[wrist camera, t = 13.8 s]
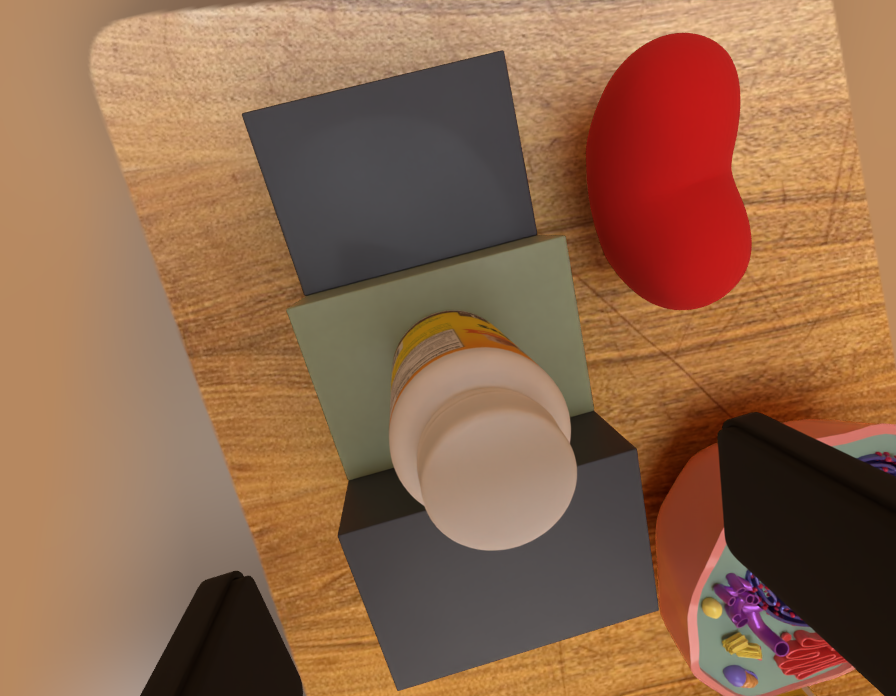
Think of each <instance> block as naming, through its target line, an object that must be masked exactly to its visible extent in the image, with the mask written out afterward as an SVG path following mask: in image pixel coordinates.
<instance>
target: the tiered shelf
mask: <svg viewBox="0 0 896 696" xmlns="http://www.w3.org/2000/svg"><path fill="white" fill-rule="evenodd" d="M242 117H243V120H244V122H245V125H246V128H247V131H248V134H249V137H250V140H251V143H252V146H253V148H254V151H255V154H256V157H257V160H258V163H259V166H260V169H261V171H262V174H263V177H264V180H265V183H266V186H267V189H268V192H269V195H270V197H271V200H272V203H273V206H274V209H275V212H276V215H277V218H278V220H279V223H280V226H281V229H282V232H283V235H284V238H285V241H286V244H287V246H288V249H289V252H290V255H291V258H292V261H293V264H294V267H295V270H296V272H297V275H298V278H299V281H300V284H301V287H302V290H303V293H304V295H305V297H304V298H302V299H301V300H299V301H298V302H296V303H295V304H293V305H292V306H290V307H289V308H287V313H288V316H289V319H290V322H291V324H292V327H293V330H294V333H295V335H296V338H297V341H298V344H299V346H300V349H301V352H302V355H303V357H304V360H305V363H306V366H307V368H308V371H309V374H310V377H311V380H312V382H313V385H314V388H315V391H316V393H317V396H318V399H319V402H320V404H321V407H322V410H323V413H324V415H325V418H326V421H327V424H328V426H329V429H330V432H331V435H332V437H333V440H334V443H335V446H336V448H337V451H338V454H339V457H340V459H341V462H342V465H343V468H344V471H345V473H346V476H347V479H348V480H349V482H348V487H347V492H346V497H345V502H344V507H343V512H342V517H341V522H340V527H339V532H338V538H339V541H340V543H341V546H342V549H343V551H344V554H345V556H346V559H347V562H348V564H349V567H350V569H351V572H352V574H353V577H354V580H355V582H356V585H357V587H358V590H359V593H360V595H361V598H362V600H363V603H364V605H365V608H366V611H367V613H368V616H369V618H370V621H371V624H372V626H373V629H374V631H375V634H376V636H377V639H378V642H379V644H380V647H381V649H382V652H383V654H384V657H385V660H386V662H387V665H388V667H389V670H390V673H391V675H392V678H393V680H394V683H395V685H396V688H397V691H400V690H403V689H406V688H410V687H413V686H416V685H419V684H423V683H426V682H429V681H432V680H436V679H439V678H442V677H445V676H448V675H452V674H455V673H458V672H461V671H465V670H468V669H471V668H474V667H477V666H481V665H484V664H487V663H490V662H494V661H497V660H500V659H503V658H507V657H510V656H513V655H516V654H519V653H523V652H526V651H529V650H532V649H536V648H539V647H542V646H545V645H548V644H552V643H555V642H558V641H561V640H565V639H568V638H571V637H574V636H578V635H581V634H584V633H587V632H590V631H594V630H597V629H600V628H603V627H607V626H610V625H613V624H616V623H619V622H623V621H626V620H629V619H632V618H636V617H639V616H642V615H645V614H649V613H652V612H655V611H658V610H659V607H658V599H657V592H656V585H655V578H654V570H653V563H652V556H651V549H650V541H649V534H648V527H647V519H646V512H645V505H644V498H643V490H642V483H641V476H640V468H639V461H638V454H637V449H636V448H635V447H634V446H633V445H632V444H631V443H629V442H628V441H627V440H626V439H625V438H624V437H623V436H622V435H621V434H619V433H618V432H617V431H616V430H615V429H614V428H613V427H612V426H610V425H609V424H608V423H607V422H606V421H605V420H604V419H603V418H601V417H600V416H599V415H598V414H597V413H596V412H595V411H594V406H593V400H592V394H591V387H590V381H589V375H588V369H587V363H586V357H585V351H584V345H583V339H582V333H581V327H580V321H579V315H578V308H577V302H576V296H575V290H574V284H573V278H572V272H571V266H570V260H569V254H568V248H567V242H566V236H565V235H537V229H536V224H535V218H534V213H533V207H532V202H531V197H530V191H529V186H528V180H527V175H526V169H525V164H524V158H523V153H522V147H521V142H520V136H519V131H518V125H517V120H516V114H515V109H514V103H513V98H512V92H511V87H510V81H509V76H508V71H507V65H506V60H505V54H504V51H503V50H502V51H498V52H493V53H489V54H485V55H481V56H477V57H473V58H469V59H465V60H460V61H456V62H452V63H448V64H444V65H440V66H436V67H431V68H427V69H423V70H419V71H415V72H411V73H407V74H402V75H398V76H394V77H390V78H386V79H382V80H378V81H374V82H369V83H365V84H361V85H357V86H353V87H349V88H345V89H340V90H336V91H332V92H328V93H324V94H320V95H316V96H311V97H307V98H303V99H299V100H295V101H291V102H287V103H282V104H278V105H274V106H270V107H266V108H262V109H258V110H254V111H249V112H245V113H242ZM450 310H457V311H465V312H469V313H472V314H475V315H478V316H480V317H482V318H483V319H485V320H487V321H488V322H490V323H491V324H492V325H493V326H495V327H496V328H497V329H498V330H499V331H500V332H501V333H502V334H504V335H505V336H506V337H507V338H509V339H510V340H511V341H512V342H513V343H514V344H515V345H516V346H517V347H518V348H519V349H521V350H522V351H523V352H524V353H525V354H526V355H527V356H528V357H530V358H531V359H532V360H533V361H534V362H535V363H536V364H537V365H539V366H540V367H541V368H542V369H543V370H544V371H545V372H546V373H547V374H548V375H549V376H550V377H551V379H552V380H553V381H554V382H555V384H556V385H557V387H558V388H559V390H560V391H561V393H562V395H563V397H564V399H565V402H566V405H567V408H568V411H569V416H570V424H571V438H570V445H571V447H572V450H573V452H574V456H575V459H576V465H577V481H576V487H575V491H574V494H573V497H572V499H571V502H570V504H569V506H568V508H567V509H566V511H565V512H564V514H563V515H562V516H561V518H560V519H559V520H558V521H557V522H556V523H555V524H554V525H553V526H552V527H551V528H550V529H549V530H548V531H547V532H545V533H544V534H542V535H541V536H539V537H538V538H536V539H534V540H533V541H530V542H528V543H526V544H523V545H521V546H518V547H514V548H510V549H505V550H479V549H474V548H470V547H467V546H464V545H461V544H459V543H457V542H455V541H453V540H451V539H450V538H449V537H447V536H446V535H444V534H443V533H442V532H441V531H440V530H439V529H438V528H437V527H436V525H435V524H434V523H433V522H432V520H431V518H430V517H429V515H428V513H427V511H426V509H425V506H424V505H422V504H421V503H419V502H418V501H417V500H416V499H415V498H414V497H413V496H412V495H411V494H410V493H409V492H408V491H407V490H406V488H405V487H404V486H403V484H402V482H401V481H400V479H399V477H398V475H397V473H396V471H395V468H394V466H393V463H392V459H391V454H390V446H389V423H390V399H391V378H392V364H393V358H394V354H395V351H396V348H397V346H398V344H399V342H400V340H401V339H402V337H403V336H404V334H405V333H406V332H407V331H408V330H409V329H410V328H411V327H412V326H413V325H414V324H415V323H417V322H418V321H419V320H421V319H423V318H425V317H427V316H429V315H431V314H434V313H437V312H442V311H450Z"/></svg>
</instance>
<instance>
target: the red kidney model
mask: <svg viewBox="0 0 896 696" xmlns="http://www.w3.org/2000/svg"><path fill="white" fill-rule="evenodd" d="M739 116H740V86H739V79H738V74H737V71H736V68H735V65H734V63H733V61H732V59H731V57H730V56H729V54H728V53H727V51H726V50H725V49H724V48H723V47H722V46H720V45H719V44H718V43H717V42H715V41H713V40H712V39H710V38H707V37H705V36H702V35H698V34H692V33H675V34H669V35H665V36H662V37H659V38H657V39H654V40H652V41H650V42H648V43H647V44H645V45H643V46H642V47H640V48H639V49H638V50H636V51H635V52H634V53H632V54H631V55H630V56H629V57H628V58H627V59H626V60H625V61H624V62H623V63H622V64H621V65H620V67H619V68H618V69H617V70H616V72H615V73H614V74H613V76H612V77H611V79H610V81H609V82H608V84H607V86H606V88H605V89H604V91H603V93H602V96H601V98H600V100H599V102H598V105H597V108H596V110H595V113H594V116H593V119H592V122H591V126H590V130H589V134H588V138H587V145H586V175H587V187H588V196H589V203H590V208H591V213H592V217H593V221H594V225H595V229H596V232H597V235H598V238H599V241H600V245H601V247H602V250H603V252H604V255H605V257H606V259H607V261H608V262H609V264H610V265H611V267H612V268H613V269H614V271H615V272H616V273H617V274H618V276H619V277H620V278H621V279H622V280H623V281H624V282H625V283H626V284H627V285H628V286H629V287H630V288H631V289H632V290H633V291H634V292H635V293H637V294H638V295H639V296H641V297H642V298H644V299H645V300H647V301H649V302H650V303H653V304H655V305H657V306H660V307H663V308H667V309H673V310H691V309H697V308H701V307H704V306H707V305H709V304H711V303H713V302H715V301H717V300H719V299H721V298H722V297H724V296H725V295H726V294H727V293H729V292H730V291H731V290H732V289H733V288H734V287H735V286H736V285H737V284H738V282H739V281H740V280H741V278H742V277H743V275H744V273H745V271H746V269H747V266H748V263H749V260H750V255H751V231H750V225H749V220H748V217H747V213H746V210H745V207H744V204H743V201H742V199H741V197H740V194H739V192H738V189H737V187H736V184H735V182H734V179H733V175H732V171H731V163H732V156H733V150H734V146H735V141H736V137H737V131H738V125H739Z"/></svg>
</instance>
